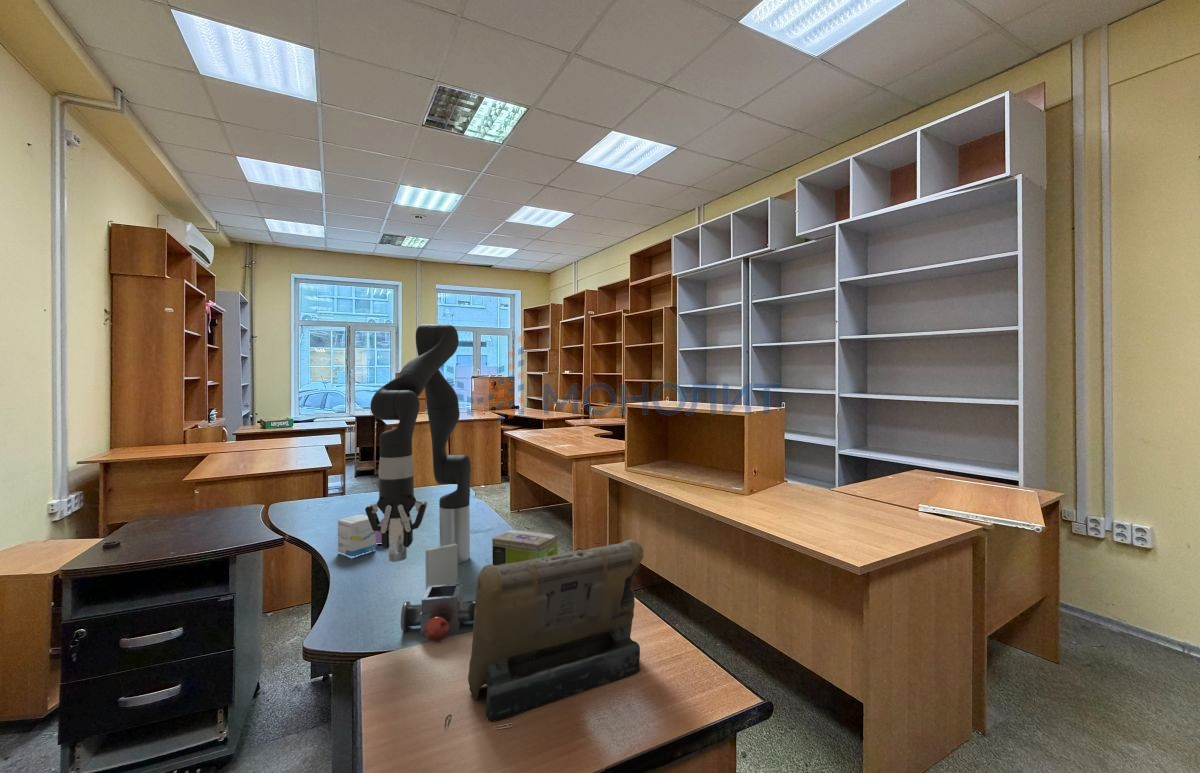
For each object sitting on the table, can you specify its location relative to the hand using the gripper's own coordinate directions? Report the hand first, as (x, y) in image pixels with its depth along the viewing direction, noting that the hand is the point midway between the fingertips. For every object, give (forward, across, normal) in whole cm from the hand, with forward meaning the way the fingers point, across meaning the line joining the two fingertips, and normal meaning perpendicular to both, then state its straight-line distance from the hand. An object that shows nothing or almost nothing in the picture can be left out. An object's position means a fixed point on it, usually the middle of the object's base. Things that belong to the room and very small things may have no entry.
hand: (397, 546), depth 112 cm
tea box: (+18, -30, -11) cm, 36 cm away
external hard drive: (+18, -8, -13) cm, 23 cm away
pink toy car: (+18, +17, -64) cm, 69 cm away
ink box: (+18, +25, -50) cm, 58 cm away
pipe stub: (+3, 0, 0) cm, 3 cm away
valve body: (+17, -11, +5) cm, 21 cm away
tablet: (+17, -36, +30) cm, 50 cm away
